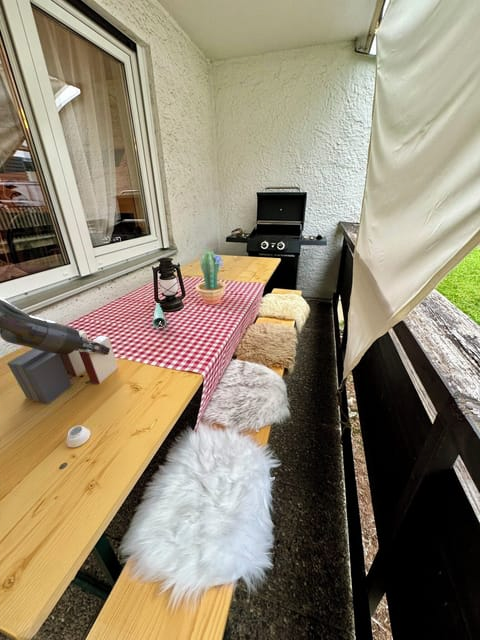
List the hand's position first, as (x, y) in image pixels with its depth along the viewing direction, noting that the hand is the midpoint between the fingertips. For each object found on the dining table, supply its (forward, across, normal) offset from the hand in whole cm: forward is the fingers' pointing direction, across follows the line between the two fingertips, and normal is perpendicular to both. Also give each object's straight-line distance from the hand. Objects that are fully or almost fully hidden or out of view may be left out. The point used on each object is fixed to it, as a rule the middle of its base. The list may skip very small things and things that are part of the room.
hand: (102, 350), depth 81 cm
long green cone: (+33, +7, -22) cm, 40 cm away
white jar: (-11, -12, +22) cm, 27 cm away
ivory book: (+4, 0, +7) cm, 8 cm away
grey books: (-4, +10, +15) cm, 18 cm away
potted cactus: (+49, -10, -37) cm, 62 cm away
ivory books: (+5, +11, +7) cm, 13 cm away
